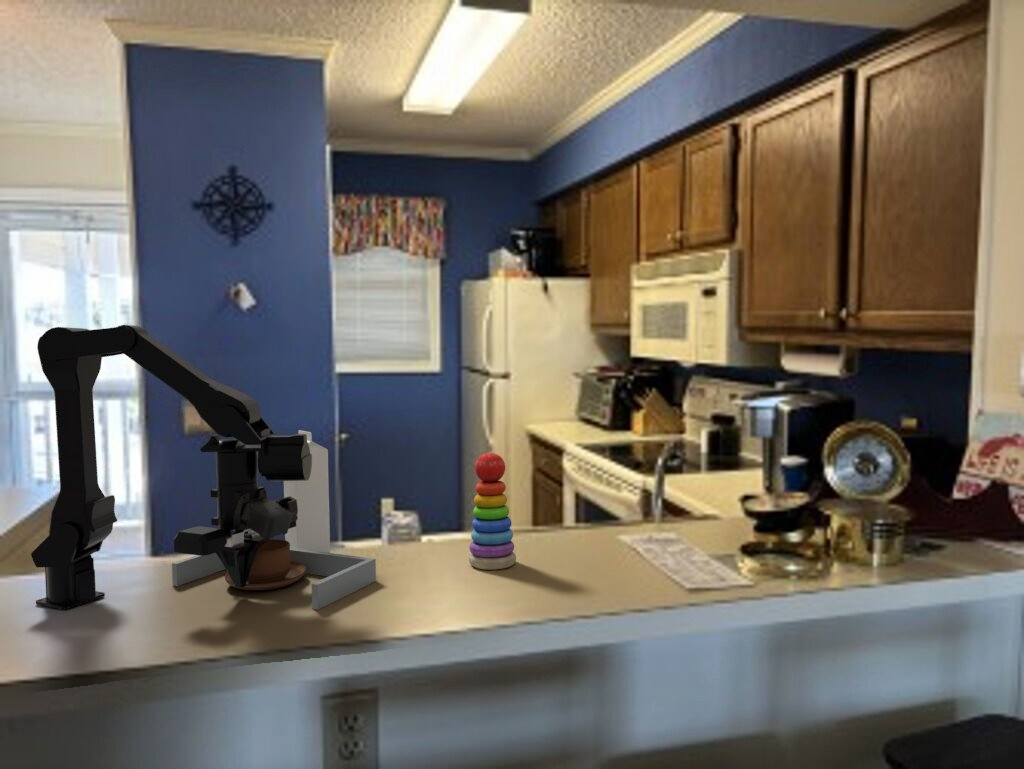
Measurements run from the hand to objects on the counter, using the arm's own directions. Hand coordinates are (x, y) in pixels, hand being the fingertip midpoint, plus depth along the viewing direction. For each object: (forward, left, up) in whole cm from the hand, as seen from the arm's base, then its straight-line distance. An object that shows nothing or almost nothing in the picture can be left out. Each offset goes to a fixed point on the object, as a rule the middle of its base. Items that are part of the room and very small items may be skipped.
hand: (240, 587), depth 110 cm
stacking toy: (+27, +29, -2) cm, 40 cm away
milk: (-6, +22, -2) cm, 23 cm away
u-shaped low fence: (0, +6, -2) cm, 6 cm away
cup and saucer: (-1, +7, -2) cm, 7 cm away
